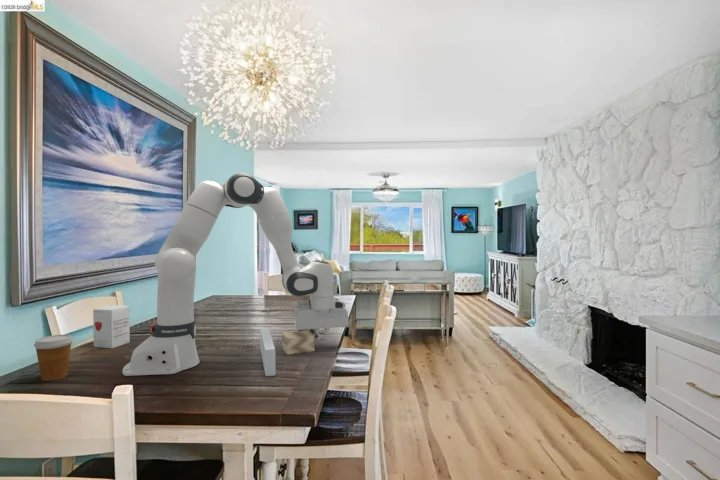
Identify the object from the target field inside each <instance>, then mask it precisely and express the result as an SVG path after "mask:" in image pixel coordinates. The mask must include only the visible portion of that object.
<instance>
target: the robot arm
mask: <svg viewBox="0 0 720 480" xmlns="http://www.w3.org/2000/svg"><path fill="white" fill-rule="evenodd" d="M247 206H248V207H250V208H251V209H253V211H254V212H255V214H256V216H257V219H258V222H259V225H260V227H261V230H262V231H263V233H264V235H265V237H266V238H267V239H268V241H269V243H270V244H271V245H272V247H273V248H274V250H275V252H276V255H277V259H278V261H279V263H280V267H281V269H282V279H281V282H282V286H283V288H284V289H285V291H287V292H288V293H289V294H290V295H292V296H294V297H305V296H307V295H309V297H310V304H305V305H298V304H297V305H296V306H295V307H294V310H293V311H294V316H295V320H294V327H295V329H296V331H298V330H307V329H315V331H316V333H317V335H316V336H317V341H327V335H328V333H329V332H330V329H331V328H332V329H334V328H342V327H343V328H346V327H348V326H349V324H350V323H349V321H350V320H349V312H348V310H347V309H346V306H347V304H346V302H345V301H344V300H341V299H338V298H334V292H333V287H334V271H333V266H332V265H331V264H330V262H327V261H322V260H316V259H315V260H312V261H311V262H310V263H308V264H307V265H305V266H303V267H300V265H299V264H298V261H297V257H296V256H295V255H296V254H295V252H294V250H293V246H292V234H293V225H292V220H291V217H290V213H289V210H288V208H287V205H286V204H285V201H284V199H283V197H282V196H281V194H280V193H279V191H278V190H277V188H275V187H272V186H265V187H264V185H263V184H262V183H260V182H259V181H258V180H257V179H256V178H255V177H254V176H253V175H251V174H249V173H245V172H237V173H234V174H233V175H231V176H230V177H229V178H228V179H227V180H226V181H225V182H224V183H218V182H217V181H214V180H213V181H212V180H202V181H201V182H200V183H199V184H198V185H197V186H196V188H195V189H194V190H193V192H192V193H191V194H190V196H189V197H188V199H187V201H186V202H185V205H184V207H183V208H182V211H181V212H180V214H179V216H178V219H177V220H176V222H175V224H174V225H173V228H172V229H171V230H170V232H169V234H168V235H167V236H166V237H167V238H166V239H165V241H164V242H163V244H162V246H161V248H160V250H159V251H158V253H157V254H156V256H155V260H154V267H155V270H156V272H157V294H156V295H157V296H156V314H157V315H156V321H157V322H152V324H151V325H150V332H149V333H150V336H149V337H148V338H146V339H145V340H144V341H142V342H141V343H140V344H139V345H138V346H136V347H135V349H134V350H133V351H132V355H131V357H130V362H128V363H126V364H125V365H124V366H123V368H122V371H121V372H122V375H123V376H126V377H129V376H130V377H131V376H149V375H151V376H154V375H174V374H177V373H179V372H181V371H185V370H188V369H192V368H193V367H195V366H198V364H200V362H201V361H200V357H199V355H198V350H197V346H196V344H197V343H196V335H197V334H196V332H197V325H196V320H195V316H194V315H195V311H194V310H195V308H194V307H195V306H194V305H195V304H194V303H195V302H194V300H195V298H194V295H195V288H196V287H195V285H196V277H197V276H196V273H197V272H196V271H197V270H196V269H197V260H196V257H197V255H198V253H199V252H200V250H201V248H202V247H203V245H204V244H205V242H206V241H207V240H208V237H209V236H210V235H211V232H212V230H213V227H214V225H215V224H216V222H217V220H218V219H219V218H218V217H219V215H220V214H221V211H222V210H223V208H225V207H230V208H234V209H240V208H243V207H247ZM298 307H299V308H298ZM320 329H324V333H323V334H320V333H319V332H320Z"/></svg>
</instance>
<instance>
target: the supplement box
mask: <svg viewBox="0 0 720 480" xmlns="http://www.w3.org/2000/svg"><path fill="white" fill-rule="evenodd" d="M92 312H93V313H92V314H93V315H92V316H93V317H92V318H93V348H101V349H102V348H104V349H115V348H118V347H120V346H123V345H126V344H130V341H131V339H130V337H131V335H130V333H131V332H130V331H131V330H130V329H131V328H130V305H120V304H119V305H118V304H117V305H116V304H115V305H114V304H111V305H105V306H102V307H101V306H99V307H96V308H93V310H92Z"/></svg>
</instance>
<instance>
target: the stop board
mask: <svg viewBox="0 0 720 480" xmlns="http://www.w3.org/2000/svg"><path fill="white" fill-rule="evenodd" d="M259 332H260V333H259V338H260V339H259V342H260V343H259V344H260V347H259V349H260V354H261V355H260V356H261V359H262V365H263V371H264V375H265V377H273V376H276V372H277V371H276V368H277V367H276V347H275V344H274V341H273V338H272V334H271V331H270V329H269V327H260V328H259Z"/></svg>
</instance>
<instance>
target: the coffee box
mask: <svg viewBox="0 0 720 480" xmlns="http://www.w3.org/2000/svg"><path fill="white" fill-rule="evenodd" d="M305 304H310V296H303V297H301V298H299V299H297V306H298V305H305ZM297 308H299V307H297ZM307 330H308V331H309V332H311V333H312V334H313V335H314V338H315V337H316V336H318V335H317V333H316V331H315V329H307ZM297 331H306V330H297Z"/></svg>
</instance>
